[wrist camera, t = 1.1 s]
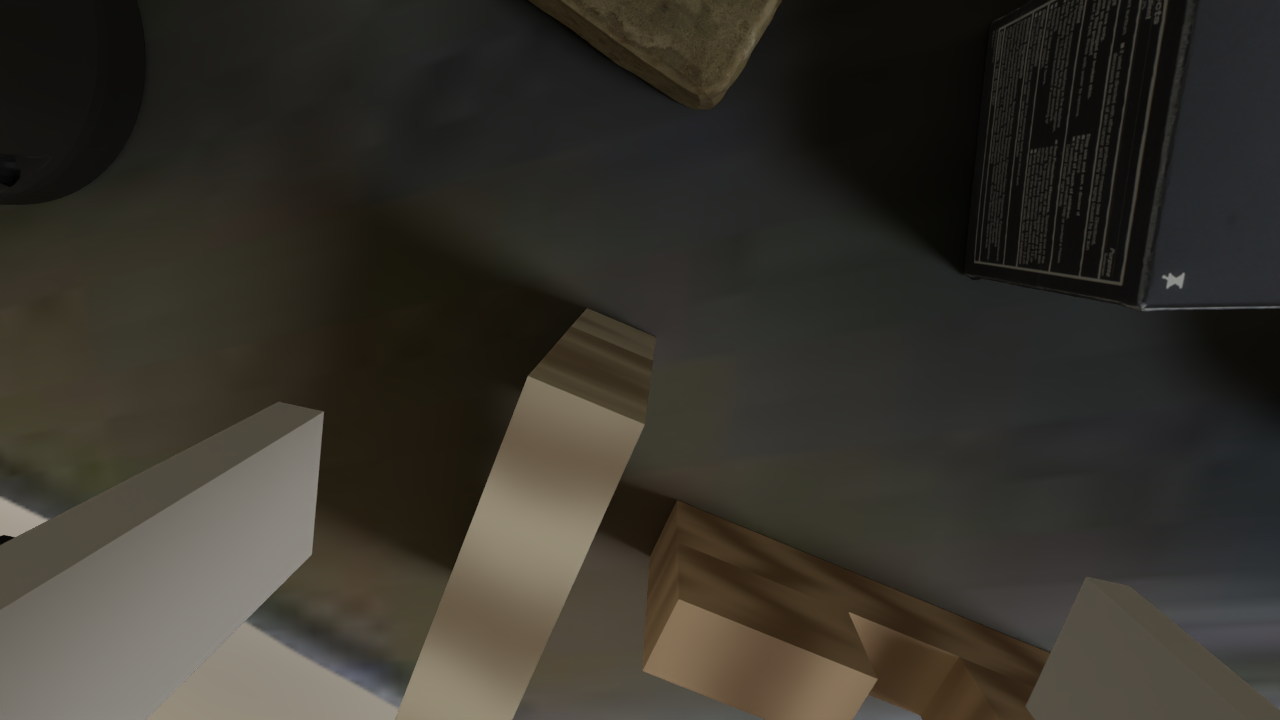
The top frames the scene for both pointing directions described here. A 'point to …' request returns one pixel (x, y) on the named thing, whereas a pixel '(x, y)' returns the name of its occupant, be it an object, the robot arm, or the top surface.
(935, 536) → the top surface
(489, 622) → the beige wooden slab
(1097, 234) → the small box
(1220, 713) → the robot arm
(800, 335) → the top surface
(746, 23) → the stone block
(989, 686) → the oak board
